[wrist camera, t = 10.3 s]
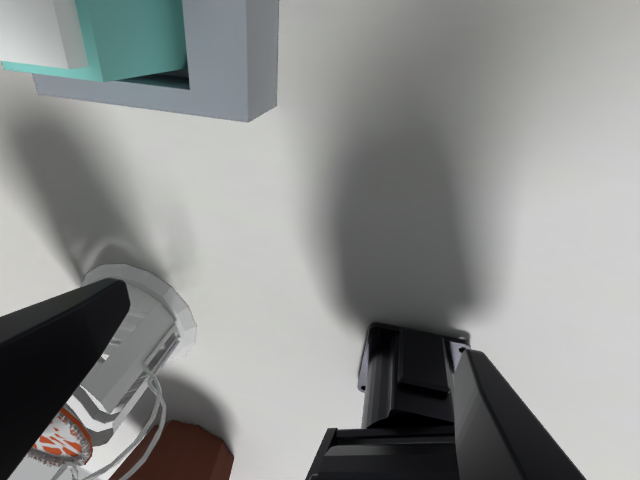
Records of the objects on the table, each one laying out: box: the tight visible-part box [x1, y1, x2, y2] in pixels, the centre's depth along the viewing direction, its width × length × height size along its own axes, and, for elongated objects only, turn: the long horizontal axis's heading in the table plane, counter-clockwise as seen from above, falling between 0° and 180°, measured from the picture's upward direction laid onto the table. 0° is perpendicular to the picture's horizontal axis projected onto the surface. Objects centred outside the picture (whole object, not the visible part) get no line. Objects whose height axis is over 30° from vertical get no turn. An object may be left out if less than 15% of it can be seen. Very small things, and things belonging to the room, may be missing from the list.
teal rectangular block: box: [0, 0, 188, 82], centre depth 13 cm, size 4×4×8 cm
